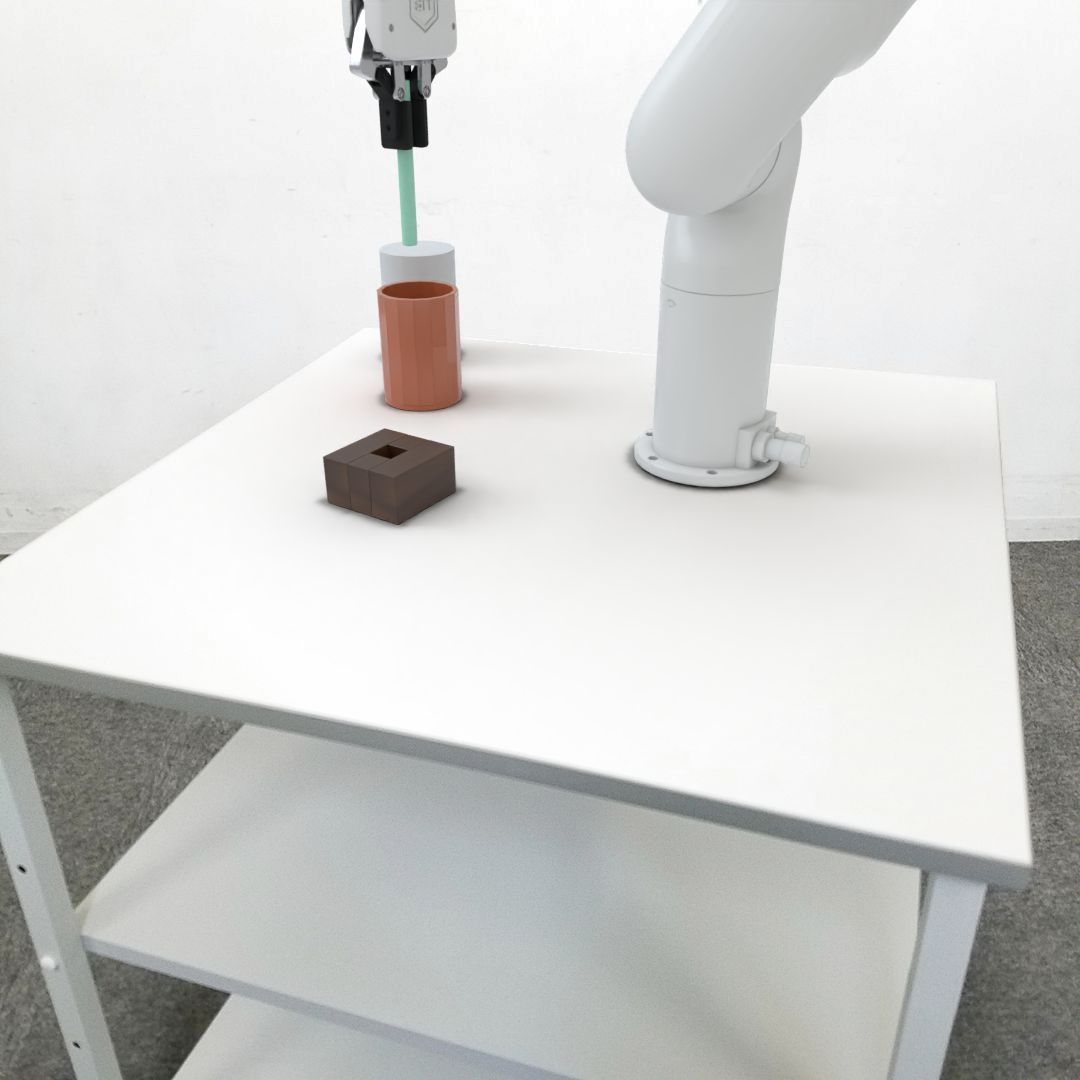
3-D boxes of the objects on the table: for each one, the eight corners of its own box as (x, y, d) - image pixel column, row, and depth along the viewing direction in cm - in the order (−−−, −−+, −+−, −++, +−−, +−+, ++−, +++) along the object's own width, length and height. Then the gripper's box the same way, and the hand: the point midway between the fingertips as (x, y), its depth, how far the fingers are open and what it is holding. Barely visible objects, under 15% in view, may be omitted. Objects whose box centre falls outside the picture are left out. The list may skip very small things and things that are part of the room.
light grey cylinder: (463, 346, 121) (460, 241, 116) (451, 367, 114) (447, 257, 108) (395, 344, 122) (388, 240, 116) (379, 365, 115) (371, 255, 109)
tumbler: (477, 393, 106) (473, 286, 101) (429, 416, 101) (423, 304, 95) (417, 380, 110) (412, 276, 105) (368, 401, 104) (360, 292, 99)
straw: (420, 244, 96) (412, 80, 90) (411, 247, 95) (402, 80, 89) (409, 242, 97) (400, 79, 90) (399, 245, 96) (389, 80, 89)
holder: (456, 491, 85) (454, 446, 83) (397, 524, 80) (394, 477, 78) (387, 471, 89) (384, 427, 87) (327, 502, 83) (322, 456, 81)
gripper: (362, -104, 76) (379, 161, 84) (486, -90, 87) (490, 142, 96) (288, -100, 79) (312, 154, 88) (416, -87, 91) (426, 136, 100)
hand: (405, 146), depth 92 cm, fingers closed on straw, 1 cm apart
